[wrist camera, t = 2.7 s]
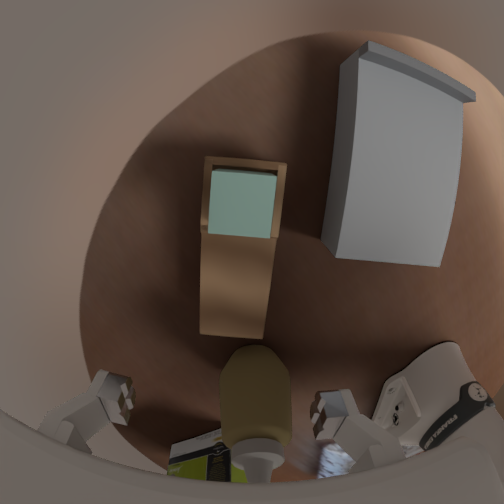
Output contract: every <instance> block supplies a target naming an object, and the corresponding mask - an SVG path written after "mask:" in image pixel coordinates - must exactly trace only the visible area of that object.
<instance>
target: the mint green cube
mask: <svg viewBox="0 0 504 504" xmlns="http://www.w3.org/2000/svg"><path fill="white" fill-rule="evenodd" d="M276 181H277V176H275V175H273V174H272V173H264V172H254V171H243V170H231V169H216V170H213V171H212V177H211V191H210V206H209V223H208V233H210V234H223V235H235V236H247V237H258V238H270V233H271V225H272V216H273V208H274V199H275V190H276Z"/></svg>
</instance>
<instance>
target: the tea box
mask: <svg viewBox="0 0 504 504" xmlns="http://www.w3.org/2000/svg"><path fill="white" fill-rule="evenodd" d="M231 452H232V450H231V449H229V448H228V447H226V445H225V444H224V443H223V441H222V432H221V428H220V429H217V430H215V431H212V432H209V433H206V434H204V435H201V436H198V437H195V438H192V439H189V440H186V441H182V442H179V443H176V444H172V446H171V452H170V458H169V459H170V460H169V465H168V471H167V475H170V476H176V477H182V478H189V479H197V480H206V481H218V482H235V483H248V482H247V478H246V475H245V472H244V470H241V469H239V468H236V467H234V465H233V464H232V463H231Z"/></svg>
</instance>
